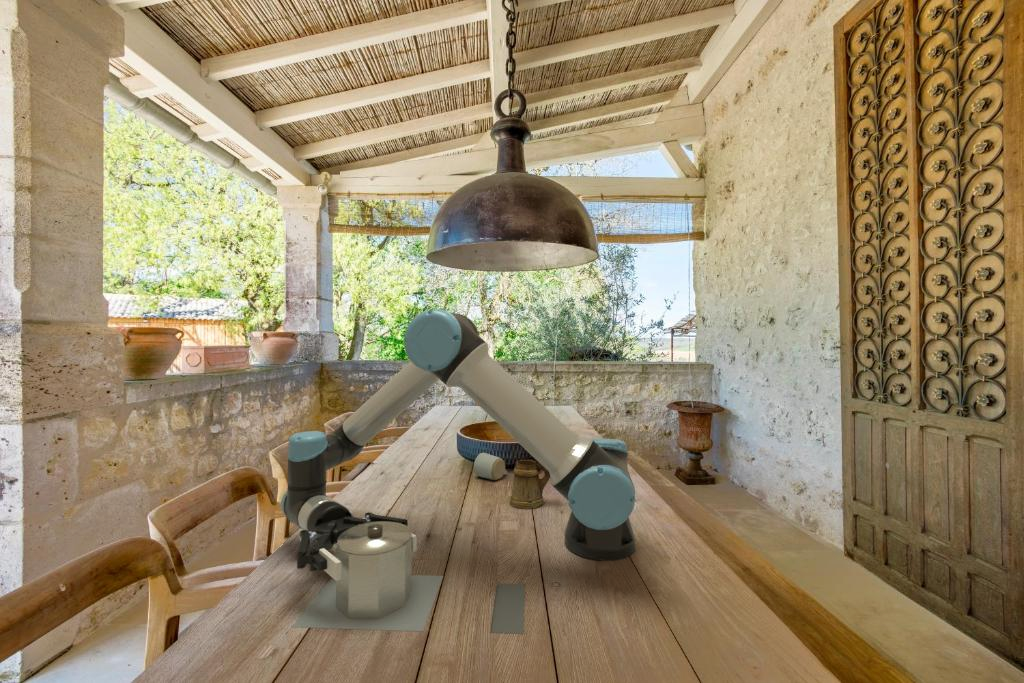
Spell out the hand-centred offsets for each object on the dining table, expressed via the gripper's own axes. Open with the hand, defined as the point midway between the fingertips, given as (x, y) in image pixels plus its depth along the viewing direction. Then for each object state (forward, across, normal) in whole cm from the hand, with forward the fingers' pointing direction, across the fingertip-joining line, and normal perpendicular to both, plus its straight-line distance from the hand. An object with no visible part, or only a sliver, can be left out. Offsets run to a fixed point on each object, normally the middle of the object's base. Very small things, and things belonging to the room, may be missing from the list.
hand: (379, 557), depth 75 cm
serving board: (-2, 0, -9) cm, 9 cm away
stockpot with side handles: (-2, 0, -8) cm, 8 cm away
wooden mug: (-15, -54, -9) cm, 57 cm away
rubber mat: (+12, -12, -9) cm, 19 cm away
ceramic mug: (-42, -63, -9) cm, 76 cm away
